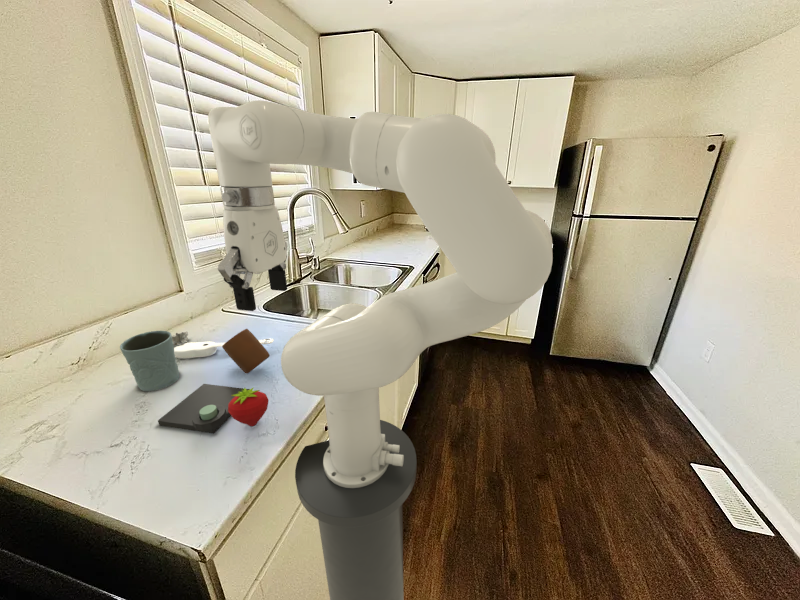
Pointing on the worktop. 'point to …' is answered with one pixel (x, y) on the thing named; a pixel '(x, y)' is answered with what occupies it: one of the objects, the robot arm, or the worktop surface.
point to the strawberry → (248, 406)
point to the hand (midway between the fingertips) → (264, 299)
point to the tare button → (208, 412)
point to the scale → (190, 407)
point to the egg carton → (180, 338)
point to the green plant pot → (151, 359)
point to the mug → (246, 351)
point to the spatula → (202, 348)
